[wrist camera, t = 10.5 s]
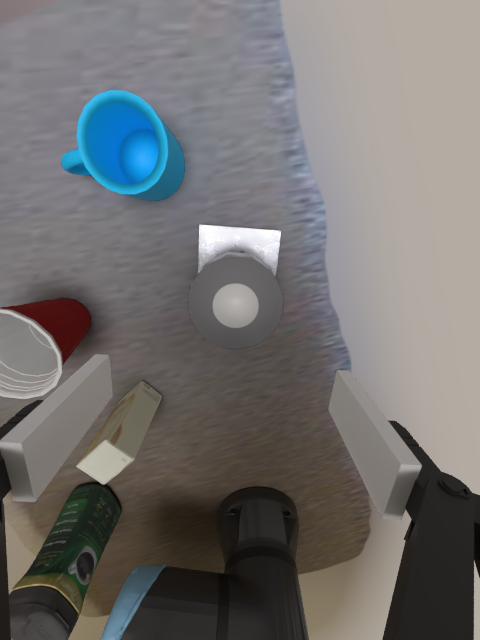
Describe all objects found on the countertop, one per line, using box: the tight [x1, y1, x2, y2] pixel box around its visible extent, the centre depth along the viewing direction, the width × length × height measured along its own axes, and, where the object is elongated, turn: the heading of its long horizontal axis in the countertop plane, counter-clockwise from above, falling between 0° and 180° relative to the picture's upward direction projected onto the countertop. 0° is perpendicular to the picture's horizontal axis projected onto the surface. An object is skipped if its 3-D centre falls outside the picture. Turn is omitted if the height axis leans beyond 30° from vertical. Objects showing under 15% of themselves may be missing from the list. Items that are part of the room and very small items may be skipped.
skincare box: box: [76, 381, 162, 484], centre depth 38 cm, size 6×4×12 cm
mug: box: [61, 90, 185, 201], centre depth 28 cm, size 12×8×8 cm
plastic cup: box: [0, 298, 91, 399], centre depth 33 cm, size 11×11×12 cm
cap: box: [188, 252, 284, 349], centre depth 28 cm, size 9×9×4 cm
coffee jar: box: [9, 484, 121, 640], centre depth 42 cm, size 10×8×19 cm
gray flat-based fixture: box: [198, 225, 281, 277], centre depth 32 cm, size 14×10×10 cm
